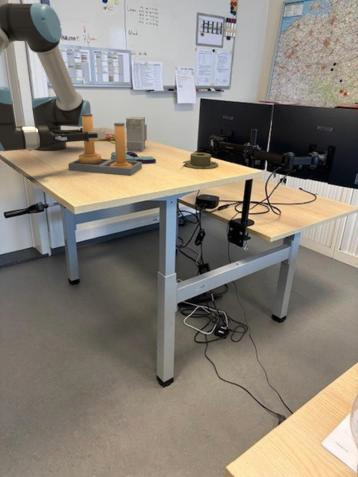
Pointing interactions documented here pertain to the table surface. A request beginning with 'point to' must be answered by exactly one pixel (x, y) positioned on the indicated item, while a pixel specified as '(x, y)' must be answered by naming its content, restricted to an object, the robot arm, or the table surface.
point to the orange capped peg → (120, 147)
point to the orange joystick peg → (89, 146)
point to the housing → (105, 167)
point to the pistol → (136, 158)
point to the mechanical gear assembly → (108, 138)
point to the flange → (200, 161)
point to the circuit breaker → (136, 134)
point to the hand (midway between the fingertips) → (102, 133)
